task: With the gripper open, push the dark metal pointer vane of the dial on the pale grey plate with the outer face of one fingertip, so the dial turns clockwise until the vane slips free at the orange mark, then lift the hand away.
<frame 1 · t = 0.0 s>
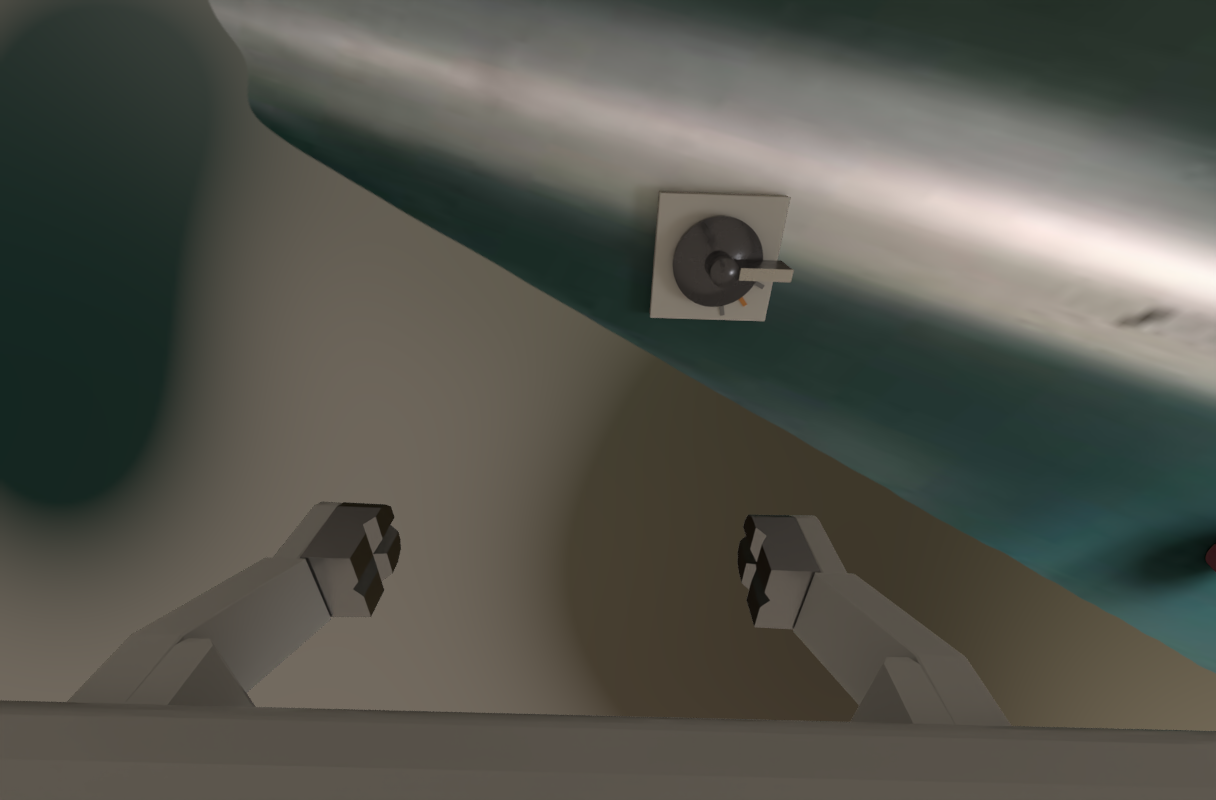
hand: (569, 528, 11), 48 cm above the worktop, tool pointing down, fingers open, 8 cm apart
dial: (729, 267, 51), point 4 cm above the worktop, hinge at 0.0°
dial base: (713, 258, 55), on the worktop
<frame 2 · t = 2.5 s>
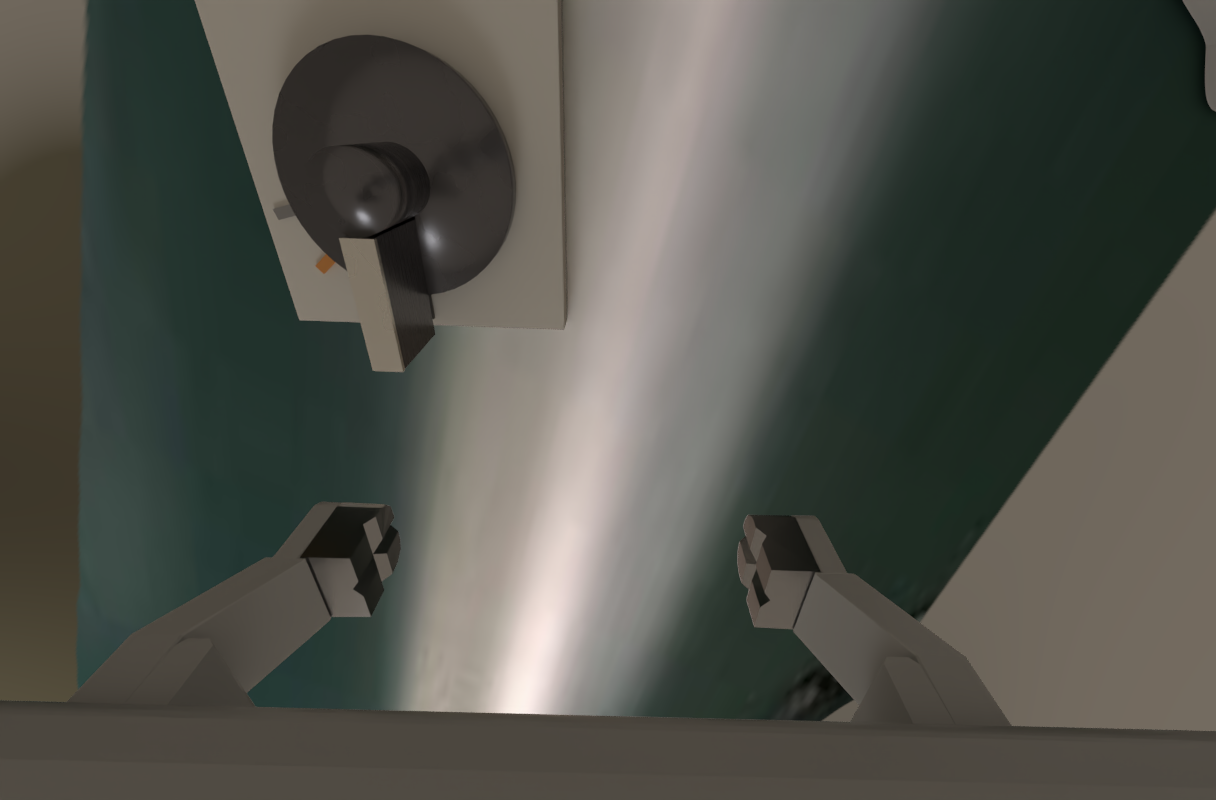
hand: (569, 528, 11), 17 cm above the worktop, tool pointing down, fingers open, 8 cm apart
dial: (383, 212, 19), point 4 cm above the worktop, hinge at 0.0°
dial base: (418, 175, 22), on the worktop
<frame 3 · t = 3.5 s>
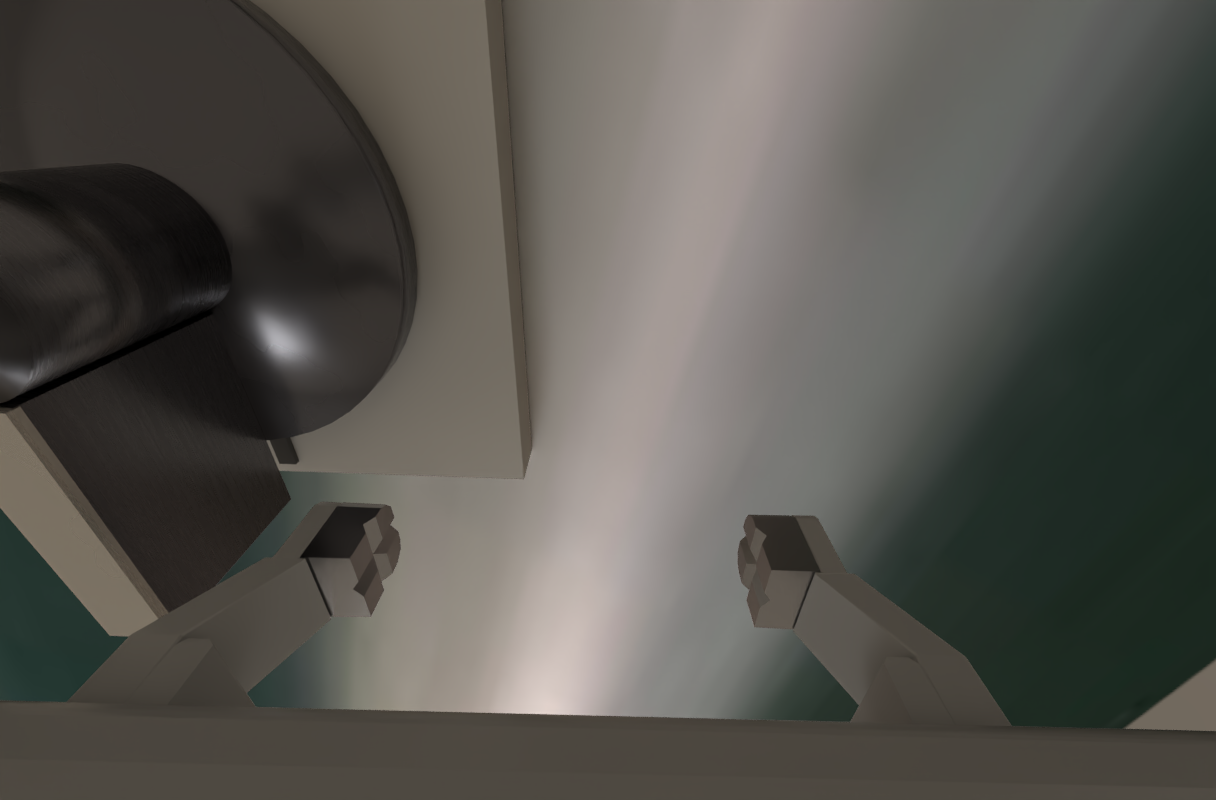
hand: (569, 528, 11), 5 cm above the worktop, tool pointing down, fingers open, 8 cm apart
dial: (108, 317, 9), point 4 cm above the worktop, hinge at 0.0°
dial base: (244, 220, 12), on the worktop
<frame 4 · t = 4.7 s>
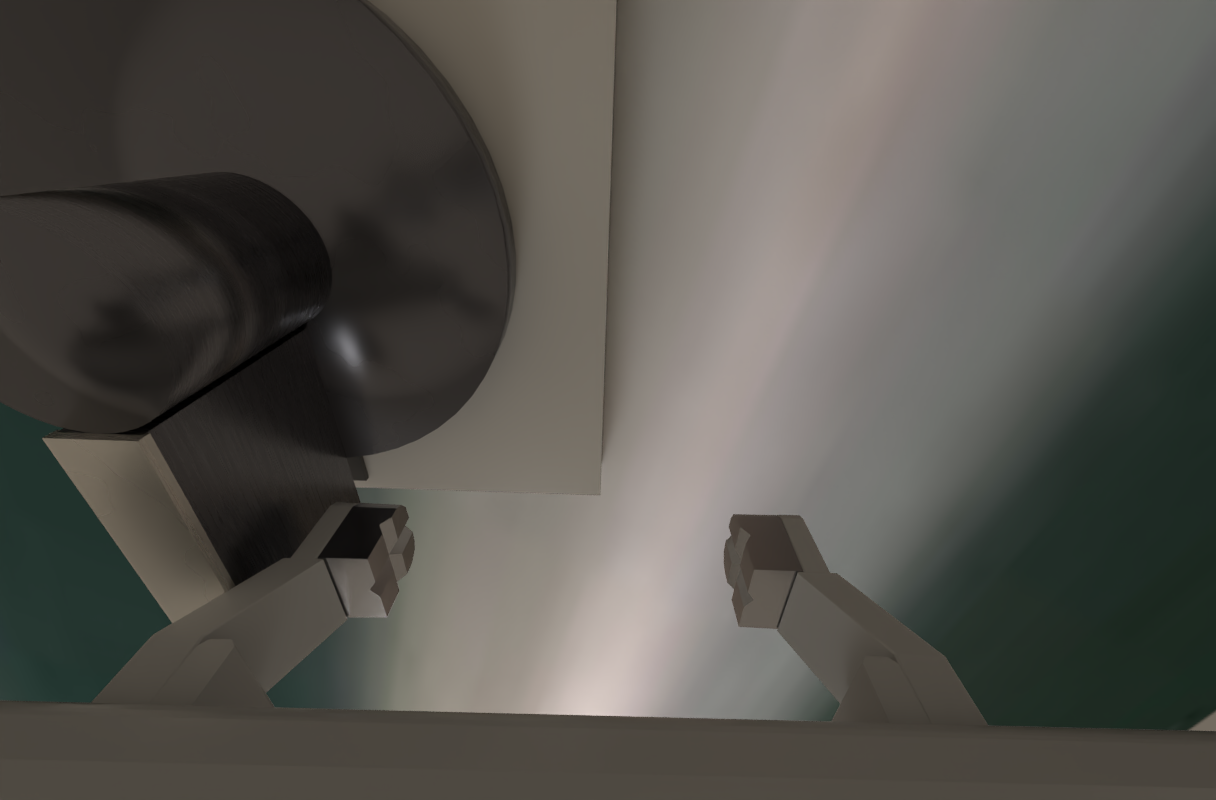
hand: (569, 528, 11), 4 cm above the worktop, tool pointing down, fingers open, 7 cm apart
dial: (214, 333, 8), point 4 cm above the worktop, hinge at 0.0°, touching gripper
dial base: (326, 229, 12), on the worktop
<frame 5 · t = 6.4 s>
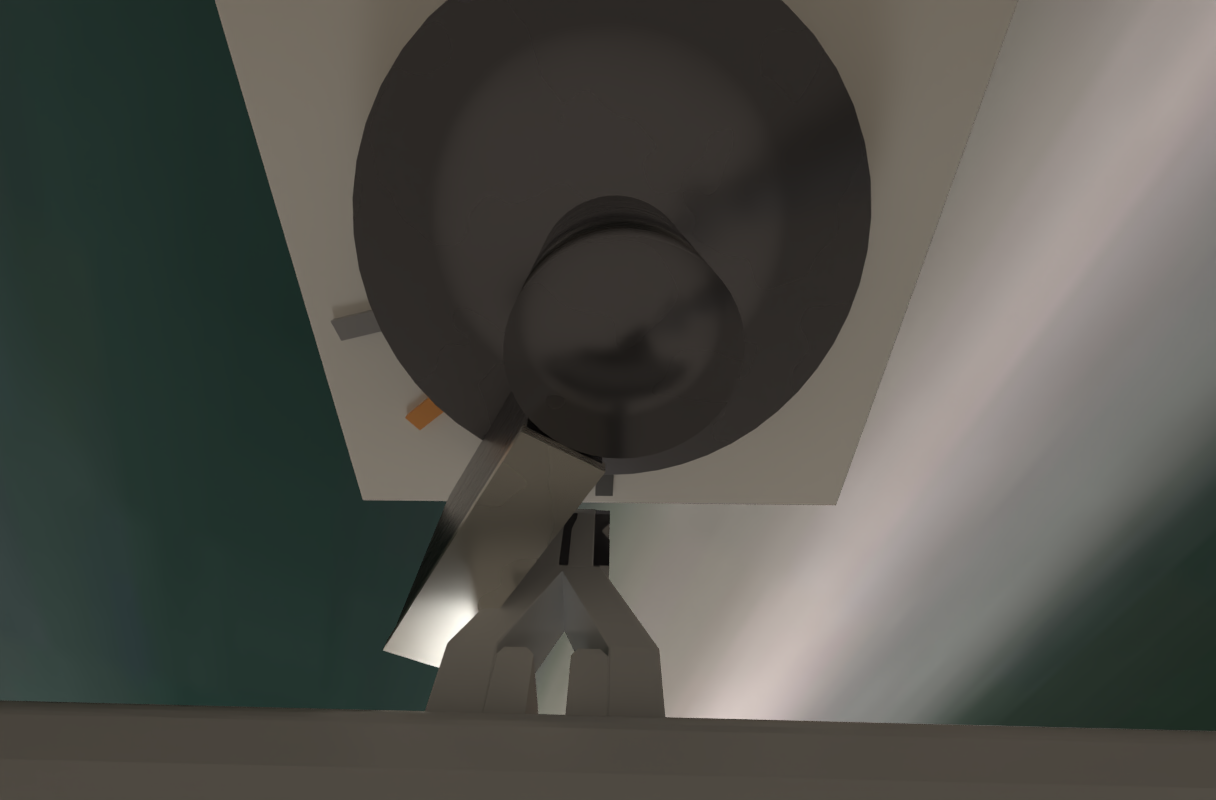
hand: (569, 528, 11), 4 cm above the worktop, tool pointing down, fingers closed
dial: (587, 347, 8), point 4 cm above the worktop, hinge at -30.2°, touching gripper
dial base: (610, 248, 12), on the worktop
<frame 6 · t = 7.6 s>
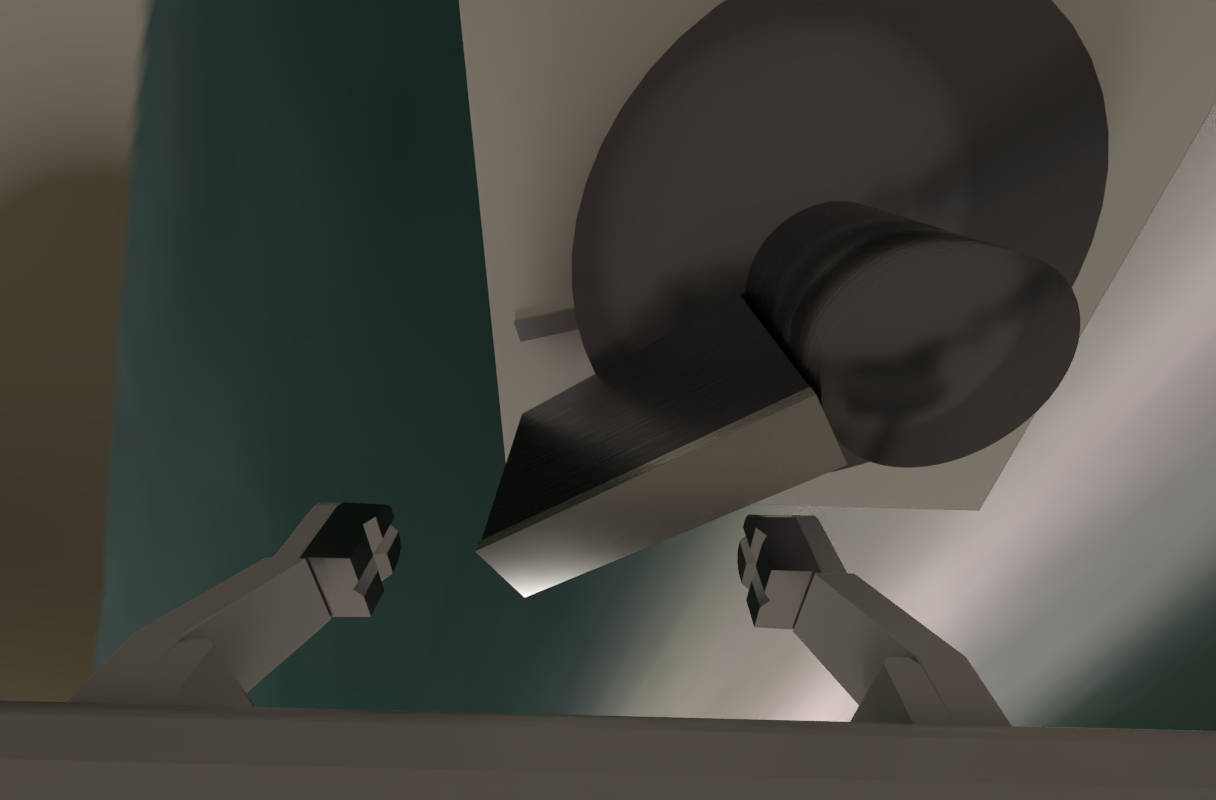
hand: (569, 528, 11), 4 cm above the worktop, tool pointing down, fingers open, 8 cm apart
dial: (801, 336, 8), point 4 cm above the worktop, hinge at -56.9°
dial base: (780, 251, 12), on the worktop
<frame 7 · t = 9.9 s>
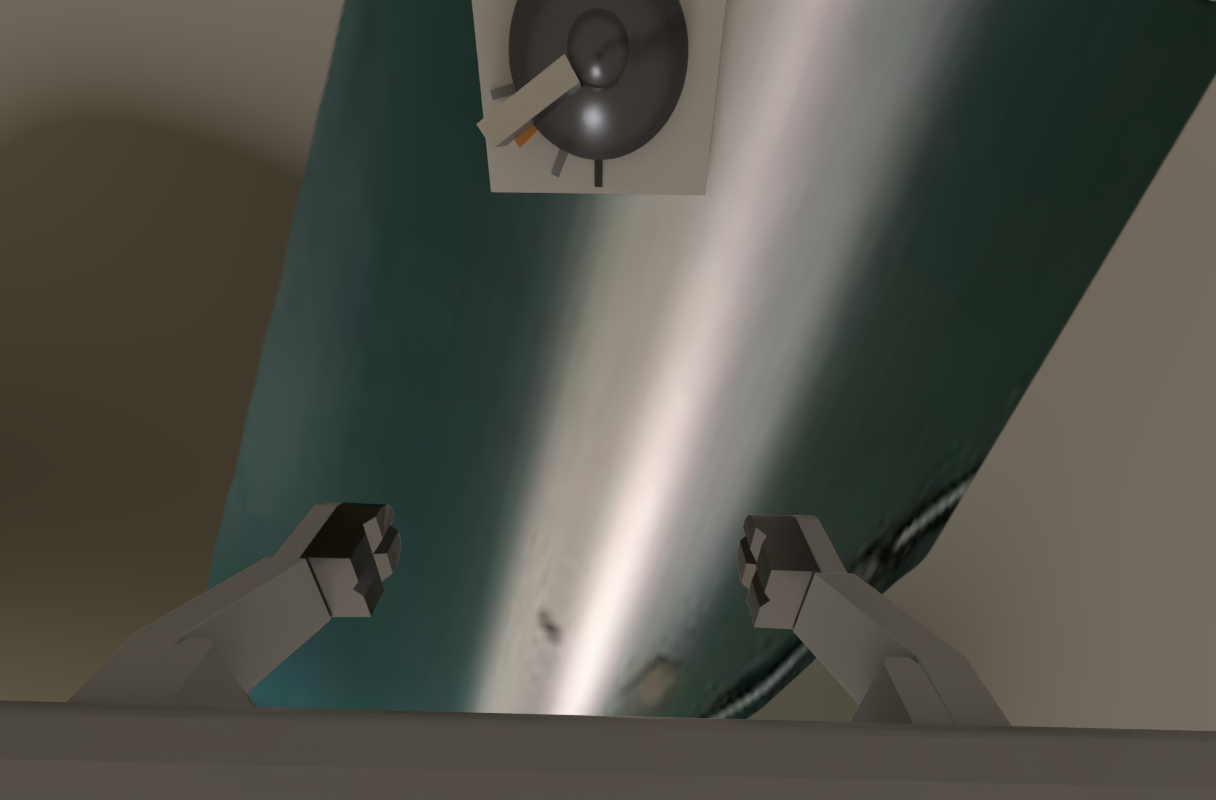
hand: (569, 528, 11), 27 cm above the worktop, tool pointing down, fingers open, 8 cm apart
dial: (582, 67, 25), point 4 cm above the worktop, hinge at -57.0°
dial base: (599, 65, 28), on the worktop
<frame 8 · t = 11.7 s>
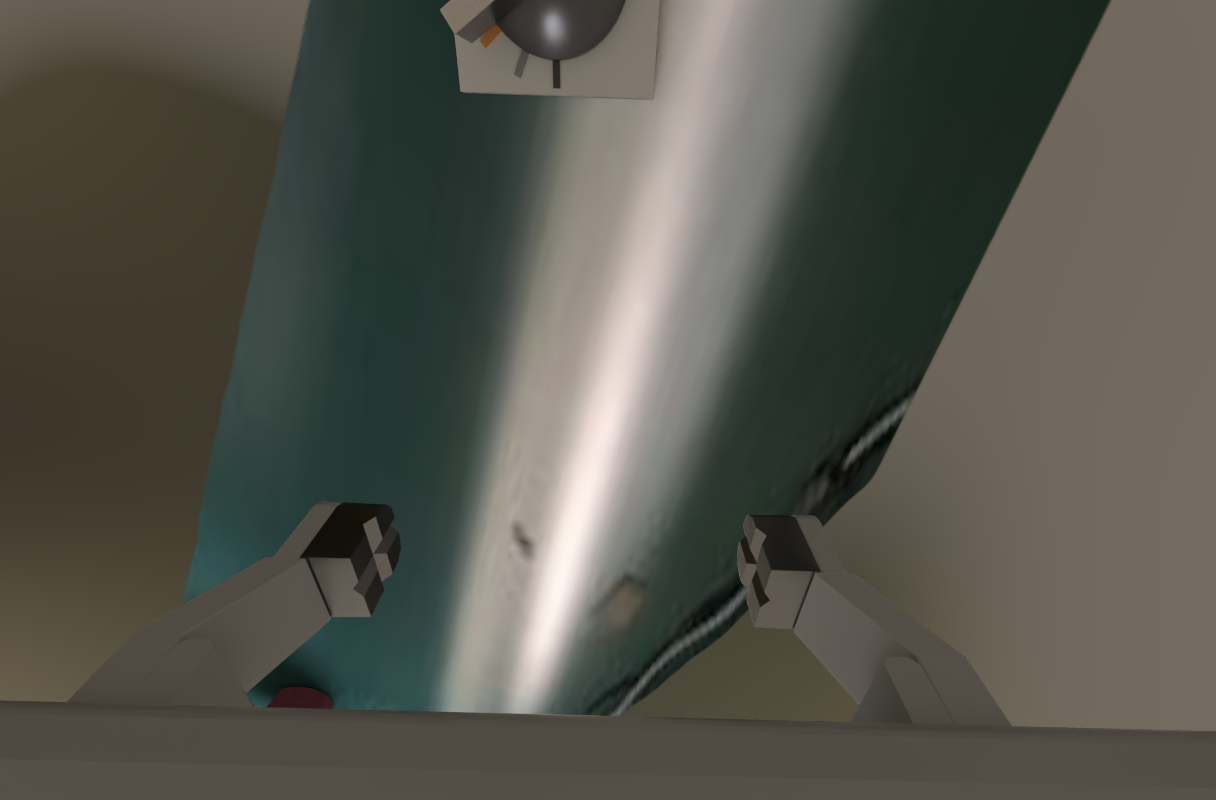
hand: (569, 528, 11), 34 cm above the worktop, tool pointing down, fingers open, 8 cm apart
plant pot: (307, 699, 79), on the worktop
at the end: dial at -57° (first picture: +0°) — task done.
